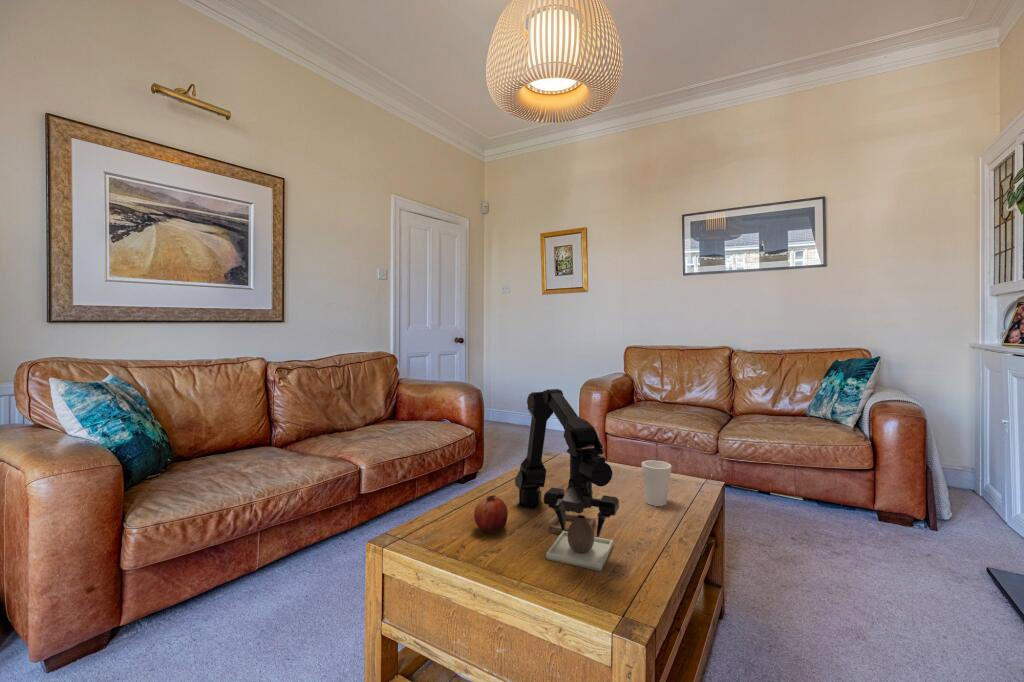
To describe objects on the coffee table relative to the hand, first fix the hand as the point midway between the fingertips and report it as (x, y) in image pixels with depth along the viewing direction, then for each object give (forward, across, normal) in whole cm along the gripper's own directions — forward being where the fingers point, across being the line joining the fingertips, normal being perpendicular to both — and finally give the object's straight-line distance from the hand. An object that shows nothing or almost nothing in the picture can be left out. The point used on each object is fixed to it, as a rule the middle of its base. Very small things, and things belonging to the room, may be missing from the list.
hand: (580, 533), depth 117 cm
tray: (+5, 0, 0) cm, 5 cm away
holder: (+5, -6, +13) cm, 15 cm away
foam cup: (+5, +14, +43) cm, 46 cm away
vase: (+5, 0, 0) cm, 5 cm away
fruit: (+5, -27, +2) cm, 28 cm away
